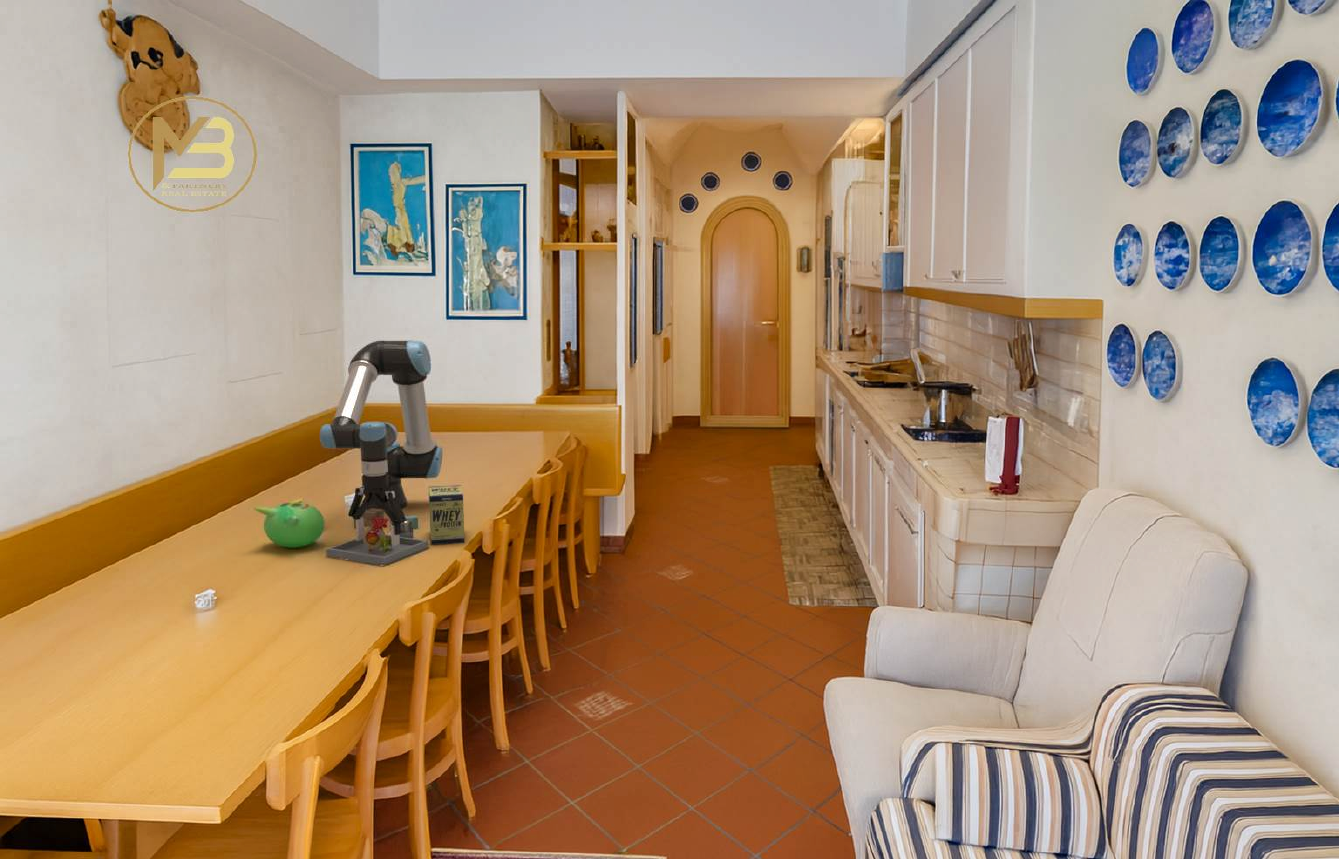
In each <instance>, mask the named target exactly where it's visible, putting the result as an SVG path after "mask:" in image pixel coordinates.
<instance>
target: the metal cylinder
mask: <svg viewBox="0 0 1339 859" xmlns="http://www.w3.org/2000/svg"><path fill="white" fill-rule="evenodd" d="M399 537H406V538H414V539H415V537H414V529H413V519H406V521H405V522H403V523H401V534H399Z"/></svg>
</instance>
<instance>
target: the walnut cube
mask: <svg viewBox="0 0 1339 859" xmlns="http://www.w3.org/2000/svg"><path fill="white" fill-rule="evenodd" d="M362 516H363V517H361V518H364V527H367V526H369V527H370V526H374V524H373V522H372V521H371V518H372V517H378V518H380V519H384V518H385V511H384V510H381V509H373V508H372V509H369V510H367V509H366V511H365V512H364V514H363V515H362Z"/></svg>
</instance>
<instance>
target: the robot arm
mask: <svg viewBox="0 0 1339 859" xmlns="http://www.w3.org/2000/svg"><path fill="white" fill-rule="evenodd" d="M430 355H431V353H430V350H429V348H428V347H427V344H426V343H424V341H422V340H421V341H420V340H413V339H412V340H411V339H409V340H375V341H372V342H370V343H368V344H366V345H365V346H363V347H362V348H361V349H360V350H359V351H357V353H356V354H355V355H354V356H353V357H352V359H351V360H350V362H349V365H348V368H347V372H348V378H347V381H346V383H345V386H344V389H343V391H342V395H341V398H340V400H339V403H338V407H337V409H336V410H335V411H336V412H335V414H334V416H333V421H332V423H327V424H323V425H322V426H321V428H320V429H319V441H320V444H321V446H322V447H323V448H324V449H332V450H333V449H334V450H341V449H343V450H348V449H351V450H352V449H359V450H360V461H361V462H360V463H361V464H360V465H361V466H360V467H361V473H362V475H361V485H362V486H359V487H356V488H354V489H355V490H354V497H353V499H352V503H351V505H350V507H349V510H348V515H347V516H348V517H351V518H352V520H353V524H354V527H353V528H354V529H355V536H356V537H355V539H356V541H360V540H362V539H363V533H364V531H365V526H364V518H362V517H363V516H362V515H363V514H364V512H365V511H366V510H369V509H372V508H373V509H381V510H384V513H385V514H386V516H387V518H388V519H389V521H390V520H391V521H392V523H393V524H392V525H391V530H390V535H391V541H392V546H396V545H398V544H400V539H399V534H401V523H403V522H405V521H406V518H405V514H404V511H403V508H406V507H408V500H407V496H406V494H405V492H404V489H403V486H402V485H403V484H402V479H425V480H428V479H435V478H437V477H439V475H440V473H441V469H442V464H443V463H442V462H443V447H442V446H439V445H437V441H436V439H434V438H433V437H431V430H430V429H431V428H430V422H429V420H430V419H429V415H428V408H427V407H428V406H427V399H426V398H427V397H426V390H425V385H424V382H425V381H426V380H427V378H428V375H429V374H430V373H431V370H432V364H431V363H432V362H431V361H432V360H431V356H430ZM382 375H383V376H391V378H392V382H393V383H394V384H396V385H397V390H398V395H399V402H400V407H401V408H400V409H401V415H402V420H403V421H402V422H403V426H404V427H403V428H404V434H405V441H404V443H403V444H402V446H401V443H400V442H399V441H397V439H398V430H397V428H396V426H394V424H392V423H389V422H382V421H367V422H362V423H361V424H359V422H360V420H361V416H362V414H363V410H364V409H365V408H364V407H365V405H366V401H367V399H368V395H369V393H370V390H371V388H372V387H371V386H372V383H374V382H375V381H376V380H377V378H378V377H379V376H382ZM363 497H364V498H363Z"/></svg>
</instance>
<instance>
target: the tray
mask: <svg viewBox="0 0 1339 859" xmlns="http://www.w3.org/2000/svg"><path fill="white" fill-rule="evenodd" d="M377 534H378V535H379V533H377ZM385 535H386V539H387V538H391V534H385ZM379 539H380V536H379ZM399 539H400V544H398V545H396V546H390V545H389V544H388V546H387V548H386V551H385V552H383V551H382V550H383V547H380V548H379V549H372V550H371V551H369V550H368V548H367V546H366V545H365V544H364V542H363V539H362V540H360V541H356V538H353V539H351V540H348V541H345V542H342V543H339V544H335V545H333V546H330V547H327V548H326V549H325V551H326V552H325V554H326V557H327V558H332V559H337V558H342V559H341V560H343V559H348V560H347V561H349V560H353V561H352V562H355V561H358V562H357V563H361V562H364V563H363V564H367V563H370V565H373V564H374V565H375V566H379V565H383V566H382V567H386V566H388V565H392V564H393V563H396V562H398V560H399V561H401V559H402V560H404V559H406V558H409V557H411V556H414V555H416V554H418V553H419V554H420V553H421V552H424V551H426V550H429V549H430V546H429V545H430V544H429V540H426V539H418V538H414V539H413V538H406V537H399ZM378 542H379V541H378ZM378 542H377V543H376V544H378ZM385 565H386V566H385Z"/></svg>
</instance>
